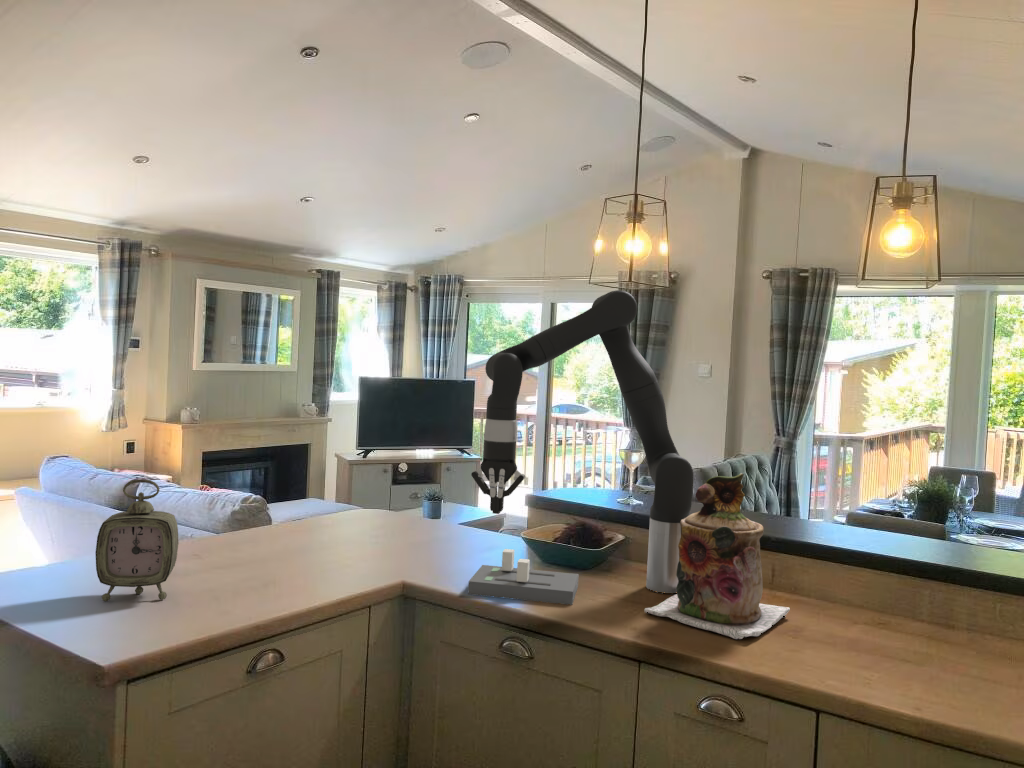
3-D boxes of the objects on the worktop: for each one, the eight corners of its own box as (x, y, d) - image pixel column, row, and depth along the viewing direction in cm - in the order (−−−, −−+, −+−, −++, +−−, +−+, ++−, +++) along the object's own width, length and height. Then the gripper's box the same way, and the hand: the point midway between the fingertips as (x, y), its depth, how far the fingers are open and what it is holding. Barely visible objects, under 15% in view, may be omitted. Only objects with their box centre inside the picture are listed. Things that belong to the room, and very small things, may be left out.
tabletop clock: (93, 604, 151) (98, 482, 151) (104, 591, 160) (109, 475, 159) (170, 602, 155) (175, 482, 155) (177, 589, 164) (182, 476, 163)
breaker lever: (513, 568, 182) (514, 549, 182) (511, 571, 179) (512, 552, 179) (503, 567, 183) (504, 548, 182) (501, 570, 180) (502, 551, 180)
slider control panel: (578, 586, 181) (578, 573, 181) (572, 605, 167) (573, 591, 167) (481, 576, 186) (482, 564, 186) (468, 594, 171) (468, 580, 171)
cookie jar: (690, 592, 181) (697, 461, 181) (792, 617, 166) (800, 474, 165) (640, 615, 162) (647, 469, 162) (749, 646, 147) (759, 484, 146)
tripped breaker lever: (528, 578, 173) (529, 559, 173) (526, 582, 170) (527, 562, 170) (518, 577, 174) (519, 558, 174) (516, 581, 171) (517, 561, 171)
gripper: (530, 439, 175) (526, 512, 176) (475, 435, 178) (472, 508, 178) (525, 442, 168) (521, 518, 168) (468, 438, 170) (464, 513, 171)
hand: (496, 513), depth 173 cm, fingers closed
